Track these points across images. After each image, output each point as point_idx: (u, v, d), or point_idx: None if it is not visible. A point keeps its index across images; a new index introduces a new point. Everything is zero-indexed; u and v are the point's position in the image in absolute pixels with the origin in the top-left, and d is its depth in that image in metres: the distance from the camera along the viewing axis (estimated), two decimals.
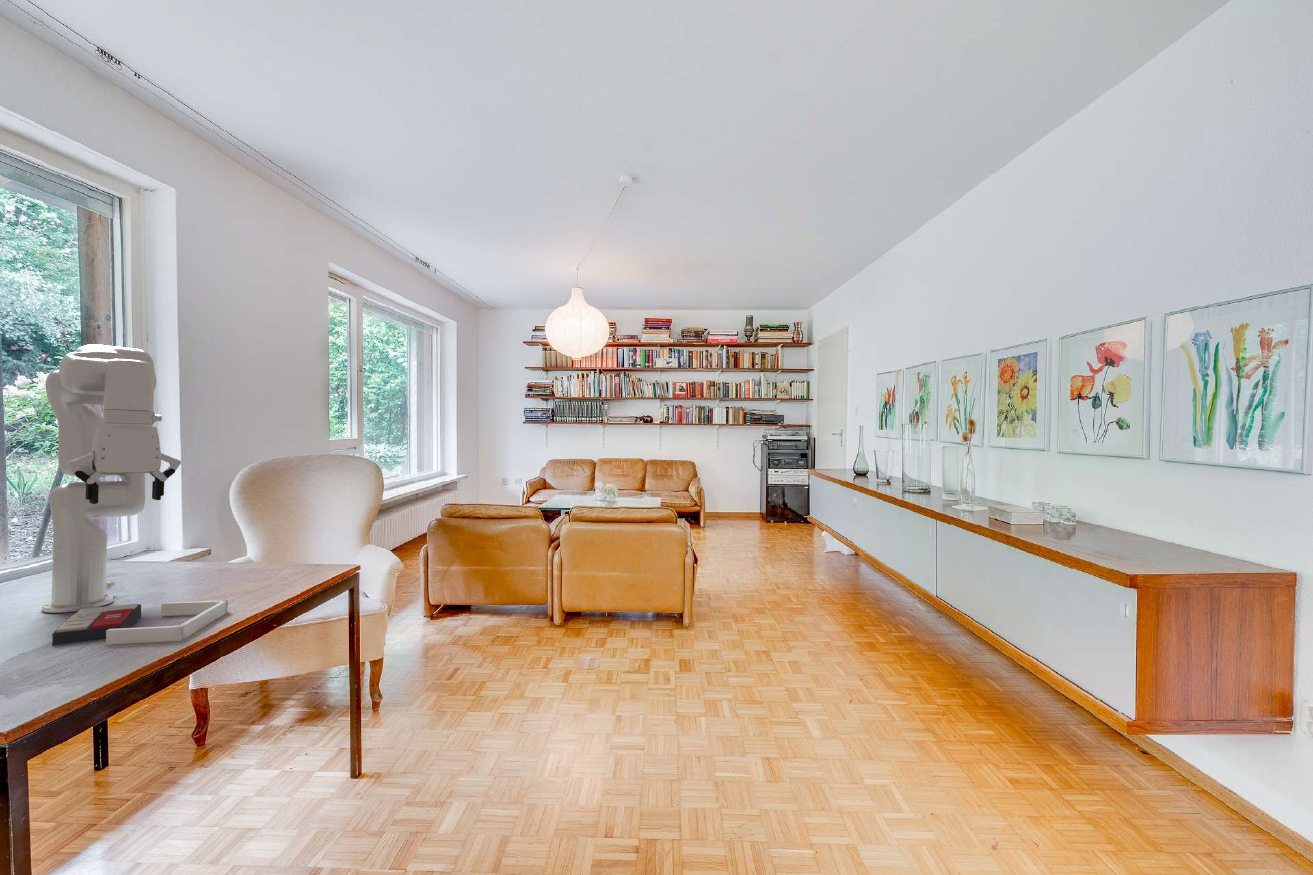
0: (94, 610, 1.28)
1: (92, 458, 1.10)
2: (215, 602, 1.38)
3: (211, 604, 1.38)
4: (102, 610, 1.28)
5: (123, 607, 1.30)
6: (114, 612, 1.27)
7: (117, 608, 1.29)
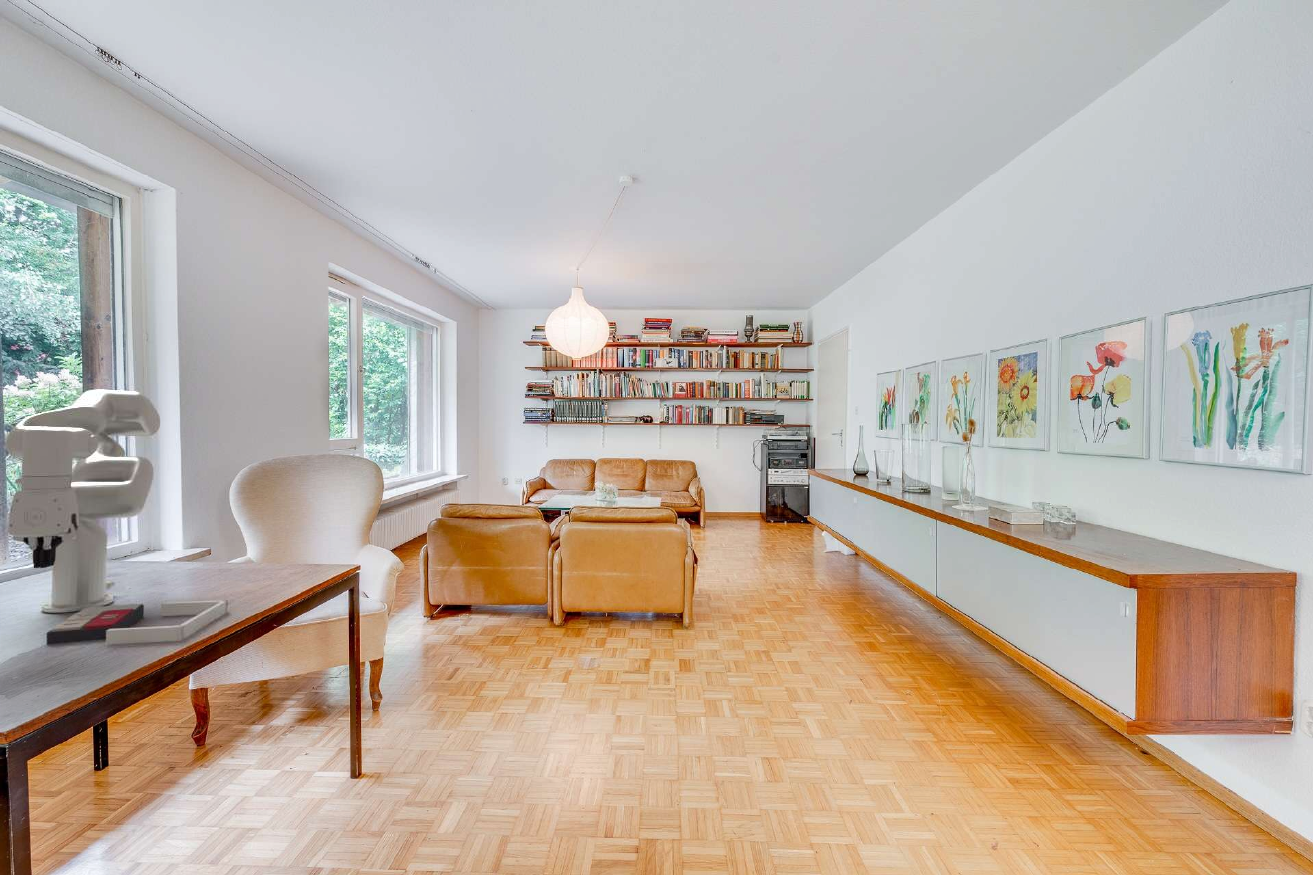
0: (97, 609, 1.28)
1: None
2: (215, 602, 1.38)
3: (211, 604, 1.38)
4: (104, 609, 1.28)
5: (125, 607, 1.30)
6: (113, 612, 1.27)
7: (119, 608, 1.30)
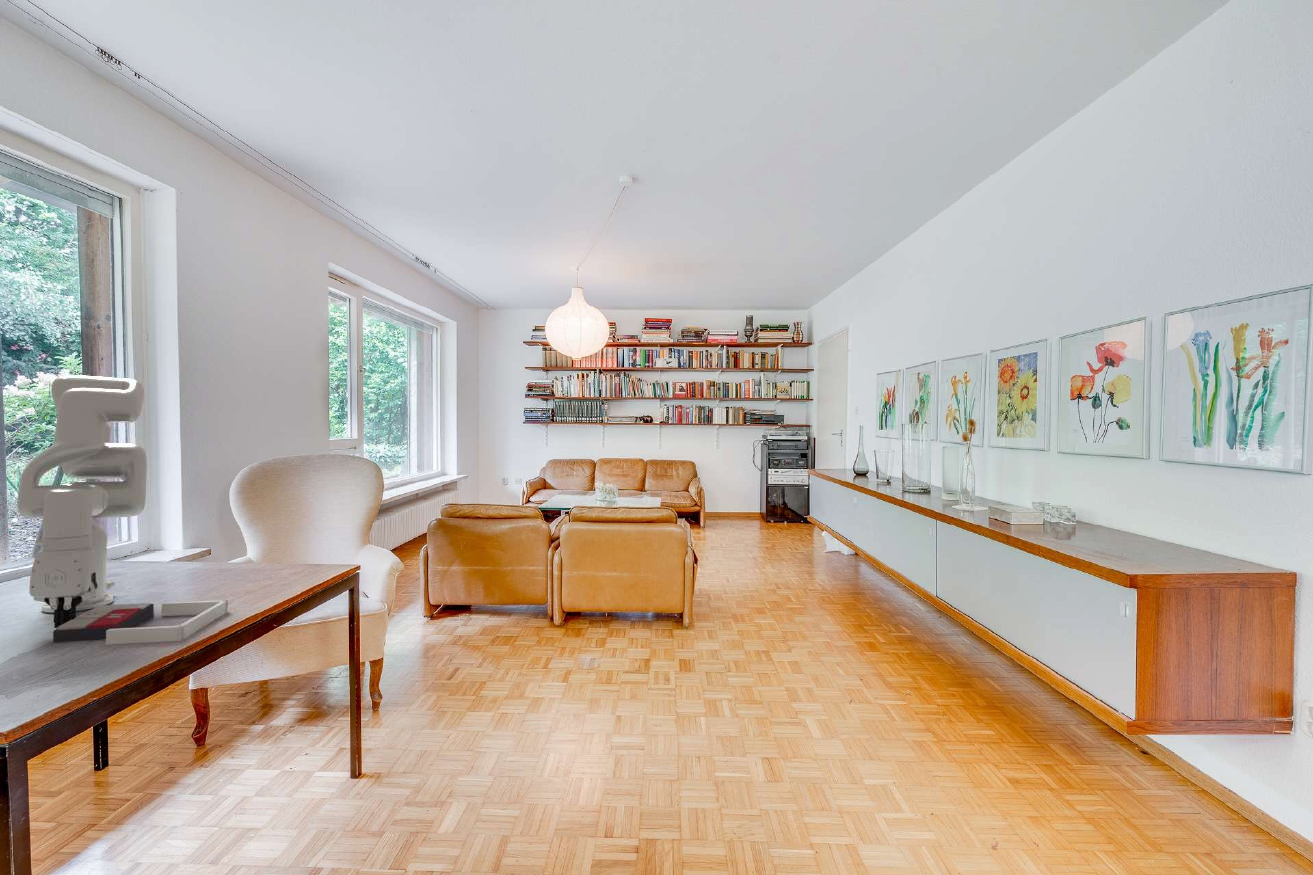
0: (108, 608, 1.29)
1: None
2: (215, 602, 1.38)
3: (211, 604, 1.38)
4: (114, 608, 1.29)
5: (134, 606, 1.31)
6: (121, 611, 1.27)
7: (128, 607, 1.30)
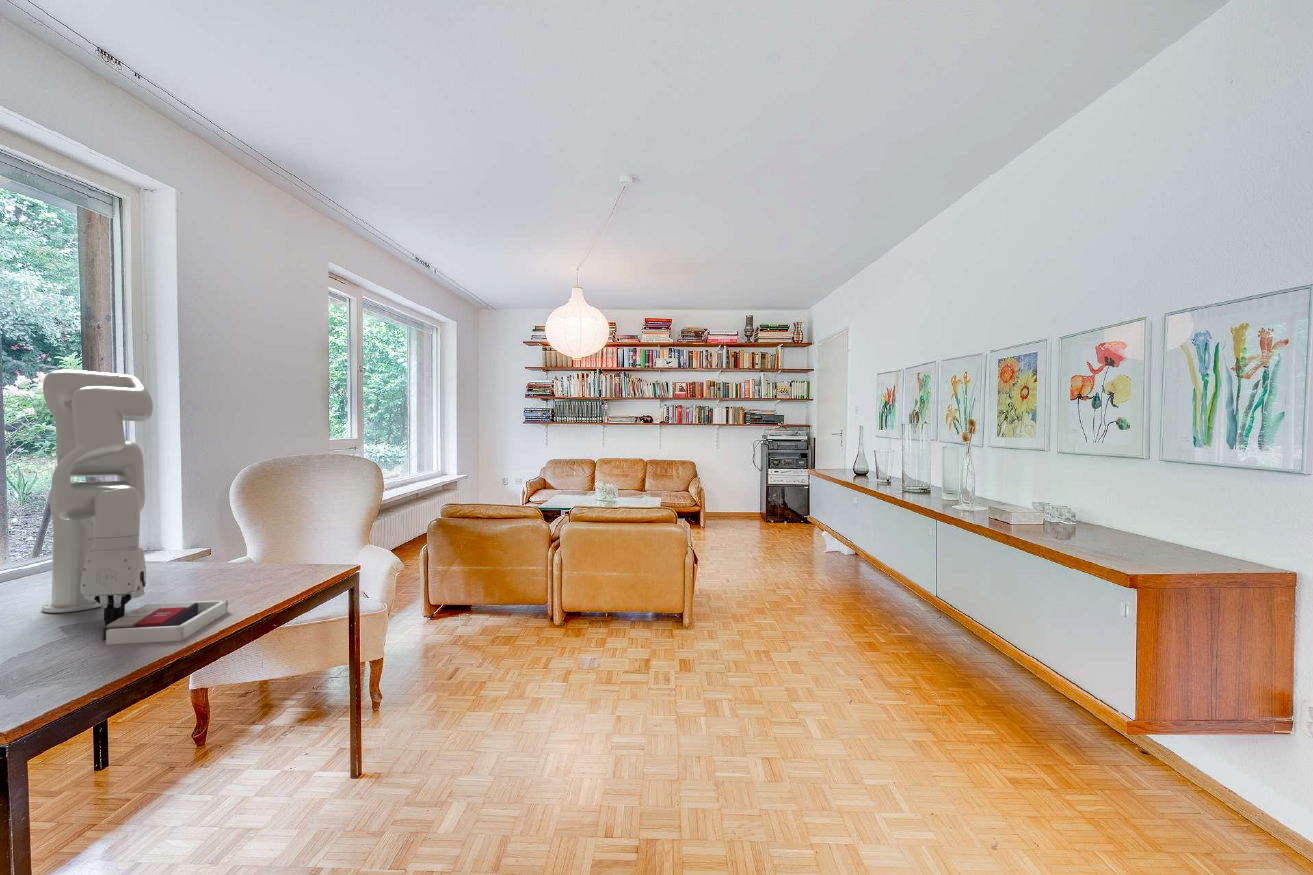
0: (154, 606, 1.32)
1: None
2: (215, 602, 1.38)
3: (211, 604, 1.38)
4: (160, 607, 1.31)
5: (179, 605, 1.33)
6: (167, 610, 1.29)
7: (174, 606, 1.32)
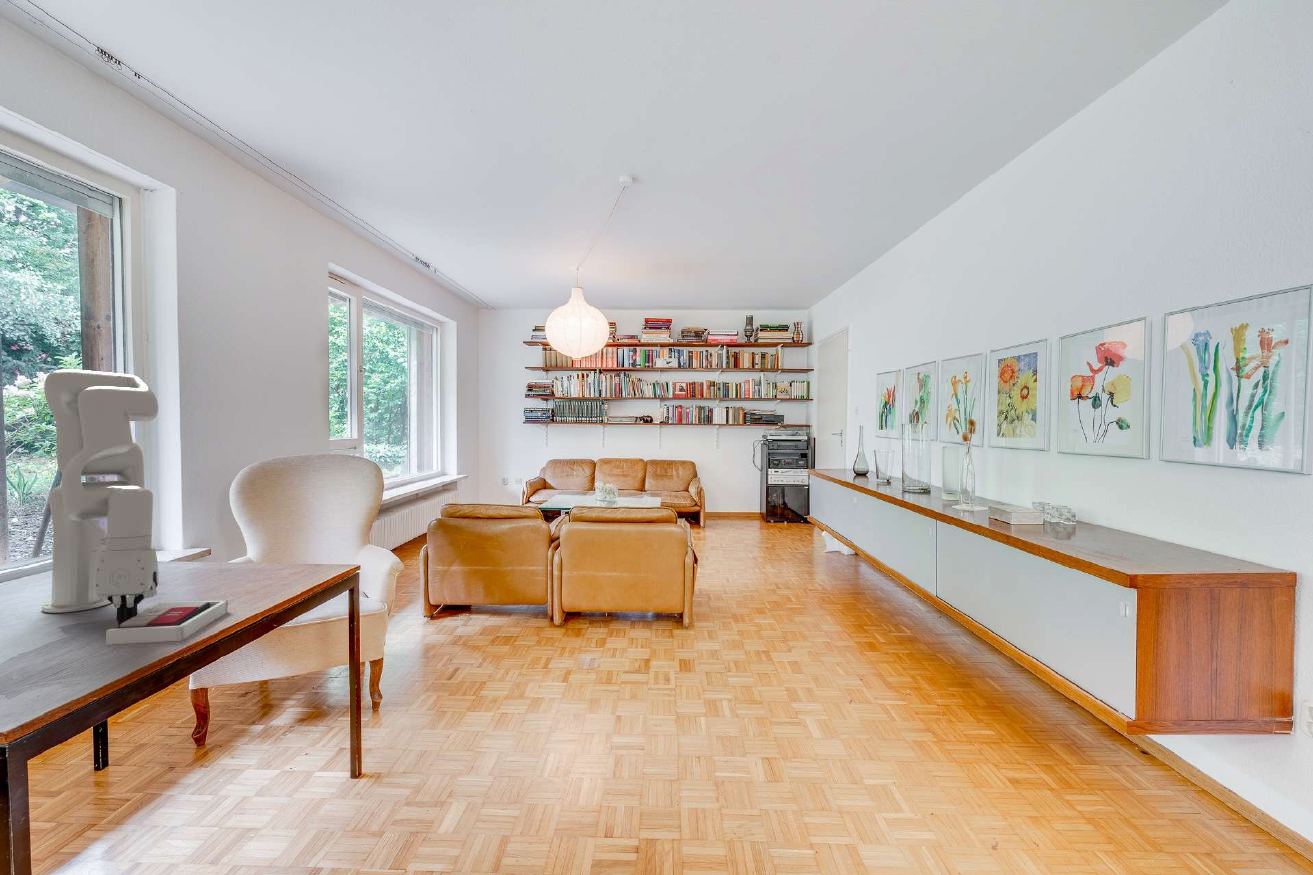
0: (167, 605, 1.32)
1: None
2: (215, 602, 1.38)
3: (211, 604, 1.38)
4: (173, 606, 1.32)
5: (192, 604, 1.34)
6: (179, 609, 1.30)
7: (186, 605, 1.33)
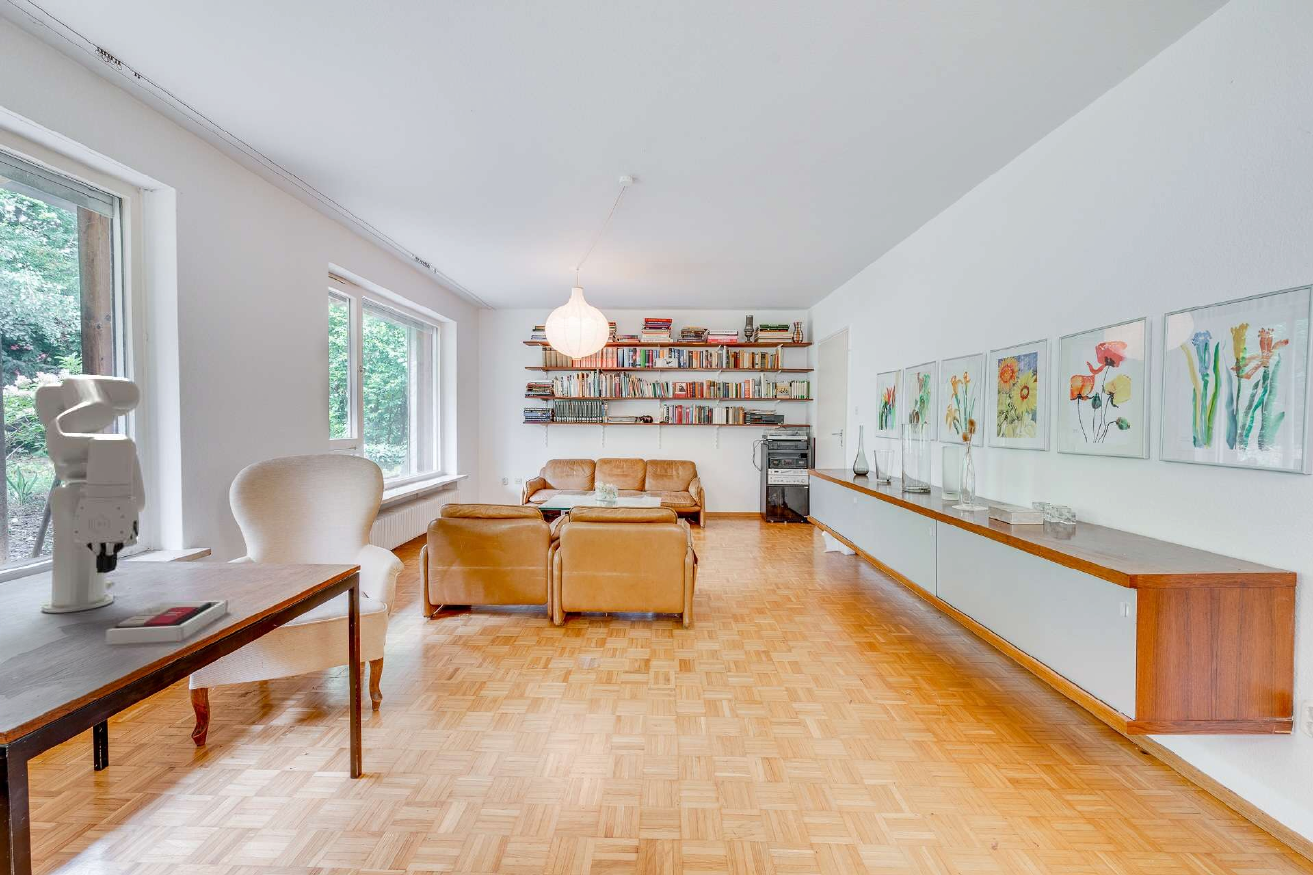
0: (169, 605, 1.33)
1: None
2: (215, 602, 1.38)
3: (211, 604, 1.38)
4: (174, 606, 1.32)
5: (192, 604, 1.34)
6: (179, 609, 1.30)
7: (187, 605, 1.33)
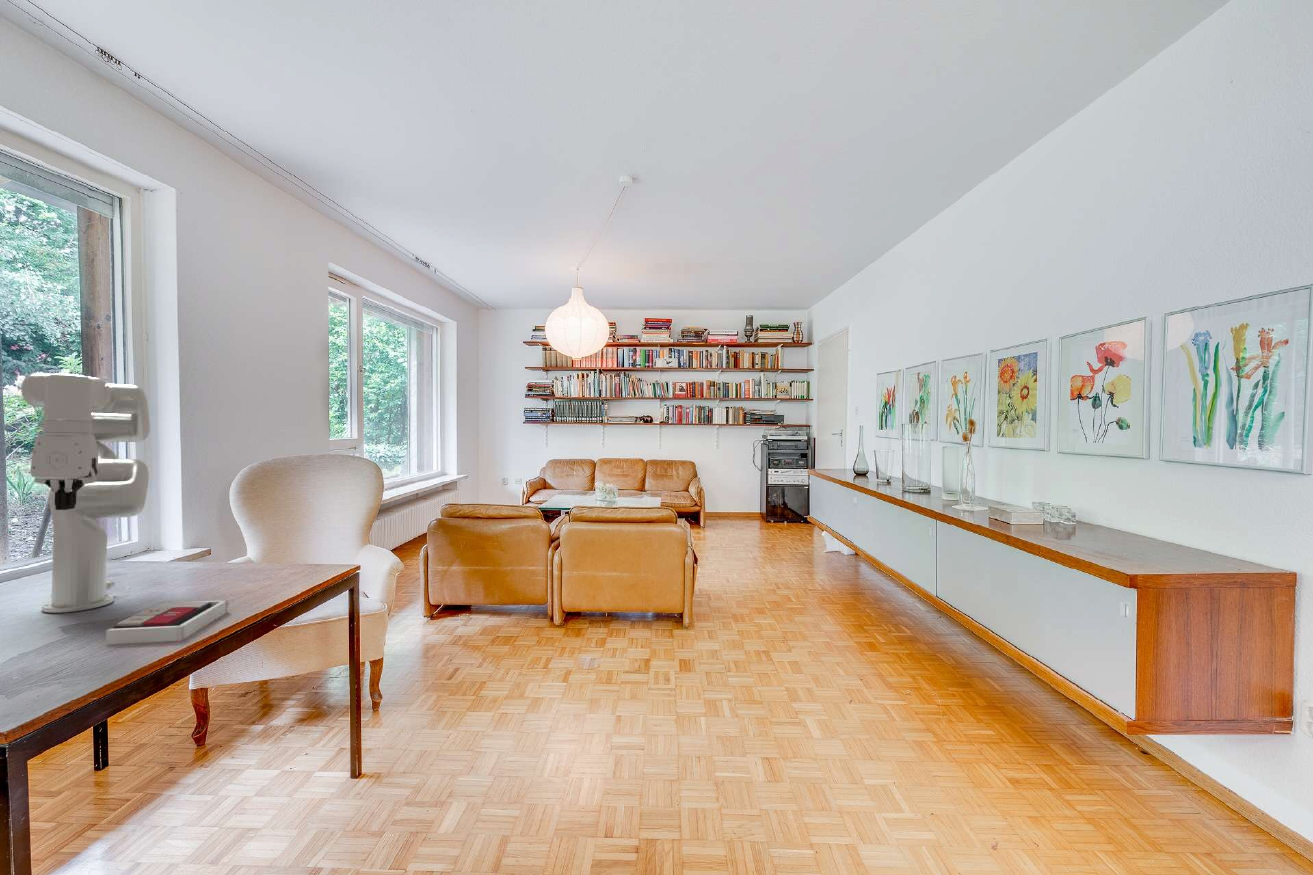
0: (169, 605, 1.33)
1: None
2: (215, 602, 1.38)
3: (211, 604, 1.38)
4: (175, 606, 1.32)
5: (192, 604, 1.34)
6: (178, 609, 1.30)
7: (187, 605, 1.33)
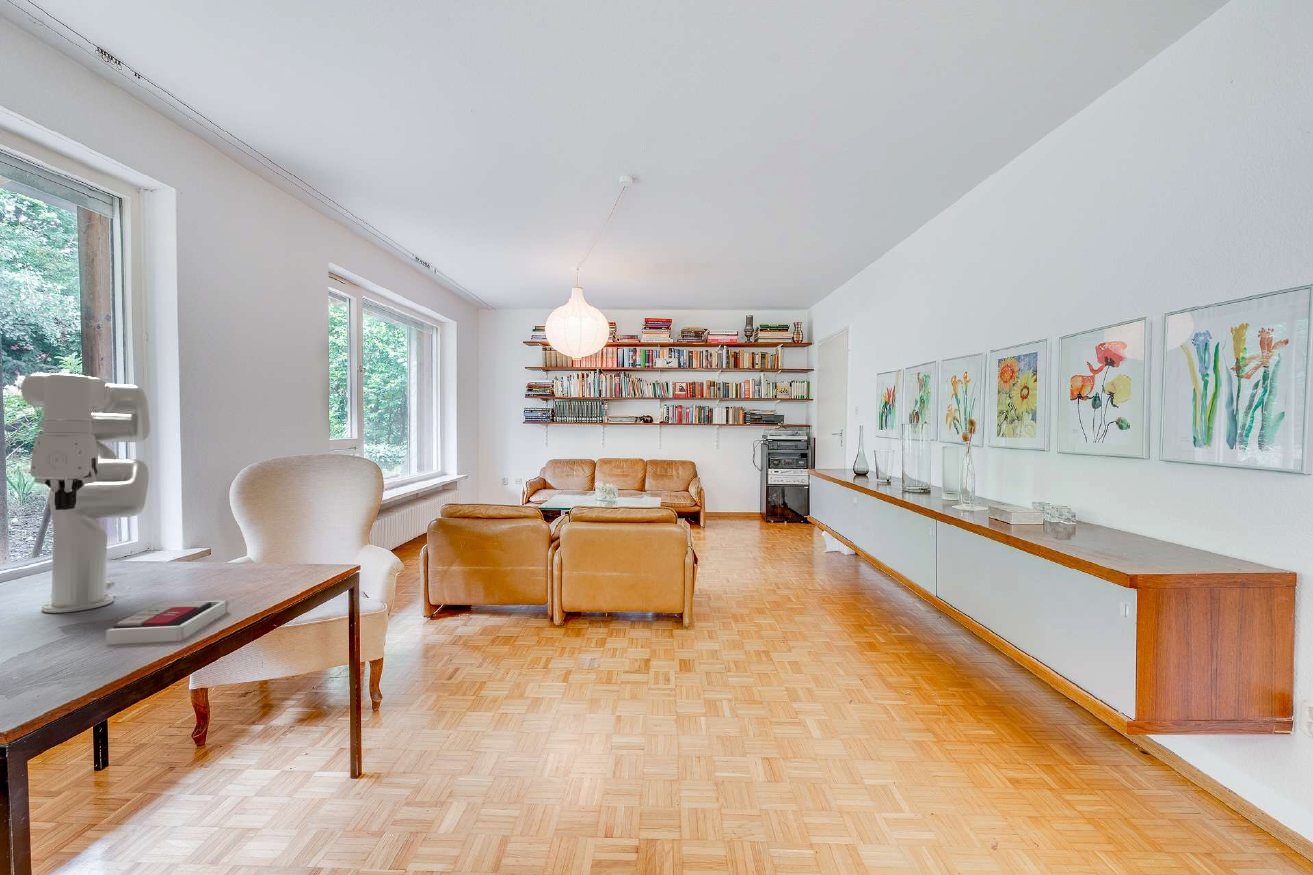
0: (169, 605, 1.33)
1: None
2: (215, 602, 1.38)
3: (211, 604, 1.38)
4: (174, 605, 1.32)
5: (192, 604, 1.34)
6: (178, 609, 1.30)
7: (187, 605, 1.33)
